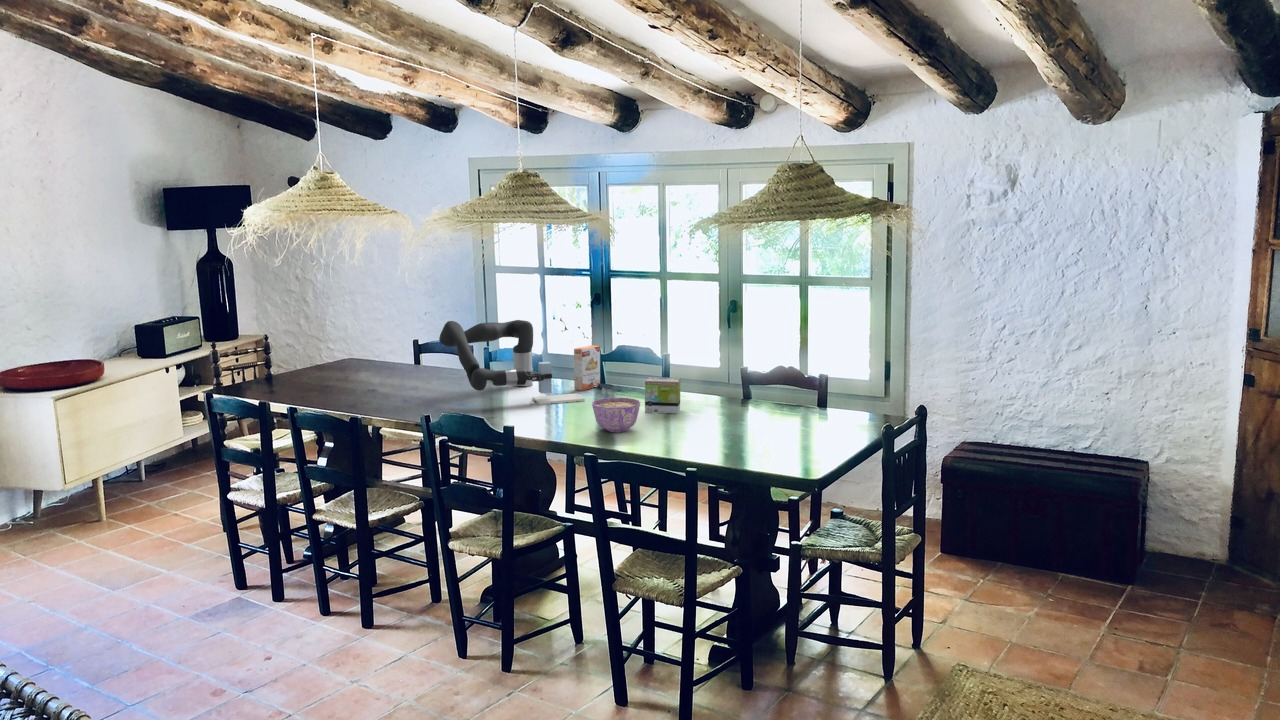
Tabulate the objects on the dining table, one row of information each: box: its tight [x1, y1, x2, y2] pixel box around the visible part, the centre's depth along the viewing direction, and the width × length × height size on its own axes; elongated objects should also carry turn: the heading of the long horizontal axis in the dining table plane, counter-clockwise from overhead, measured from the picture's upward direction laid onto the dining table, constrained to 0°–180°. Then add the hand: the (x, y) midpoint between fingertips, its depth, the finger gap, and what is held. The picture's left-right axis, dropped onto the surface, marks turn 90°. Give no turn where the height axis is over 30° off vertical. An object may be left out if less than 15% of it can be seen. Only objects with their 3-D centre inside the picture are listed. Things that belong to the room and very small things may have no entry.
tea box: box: [644, 376, 681, 414], centre depth 439 cm, size 15×10×15 cm, turn 82°
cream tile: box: [531, 393, 586, 405], centre depth 466 cm, size 13×22×1 cm, turn 110°
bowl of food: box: [591, 397, 641, 433], centre depth 406 cm, size 20×20×12 cm
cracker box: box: [573, 345, 601, 392], centre depth 491 cm, size 14×6×21 cm, turn 143°
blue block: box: [537, 361, 553, 395], centre depth 462 cm, size 5×5×14 cm
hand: (550, 375), depth 462 cm, fingers closed on blue block, 5 cm apart
